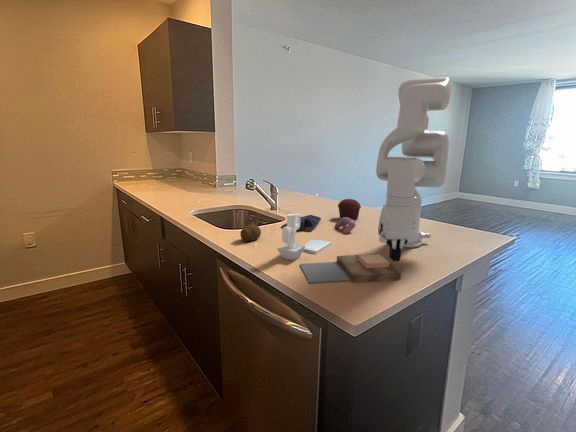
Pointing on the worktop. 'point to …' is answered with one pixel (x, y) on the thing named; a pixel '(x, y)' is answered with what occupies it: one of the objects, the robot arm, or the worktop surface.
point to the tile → (373, 261)
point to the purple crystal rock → (345, 224)
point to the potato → (250, 233)
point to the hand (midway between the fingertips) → (394, 259)
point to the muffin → (349, 209)
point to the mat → (324, 272)
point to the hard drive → (315, 246)
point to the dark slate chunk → (307, 223)
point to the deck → (366, 270)
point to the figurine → (291, 238)
